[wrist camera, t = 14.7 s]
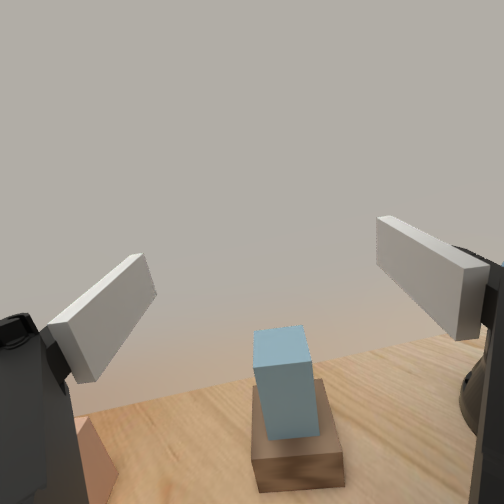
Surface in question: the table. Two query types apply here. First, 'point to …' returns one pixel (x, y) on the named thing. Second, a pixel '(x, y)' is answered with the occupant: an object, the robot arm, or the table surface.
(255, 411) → the base block
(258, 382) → the blue brick
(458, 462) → the table surface
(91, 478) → the clay brick
